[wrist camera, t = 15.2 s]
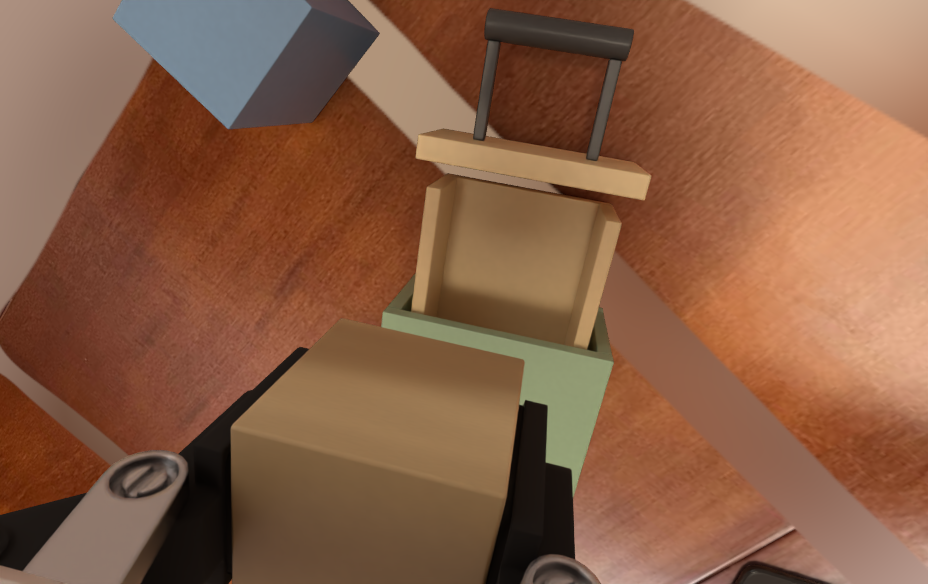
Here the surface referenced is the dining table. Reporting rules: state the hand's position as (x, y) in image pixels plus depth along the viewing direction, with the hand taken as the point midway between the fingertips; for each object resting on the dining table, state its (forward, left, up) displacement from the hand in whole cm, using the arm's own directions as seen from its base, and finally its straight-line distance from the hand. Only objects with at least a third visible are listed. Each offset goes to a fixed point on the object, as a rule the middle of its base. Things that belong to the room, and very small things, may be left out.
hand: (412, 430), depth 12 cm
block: (0, 0, -1) cm, 1 cm away
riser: (-10, -13, -22) cm, 28 cm away
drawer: (-1, +1, -21) cm, 22 cm away
